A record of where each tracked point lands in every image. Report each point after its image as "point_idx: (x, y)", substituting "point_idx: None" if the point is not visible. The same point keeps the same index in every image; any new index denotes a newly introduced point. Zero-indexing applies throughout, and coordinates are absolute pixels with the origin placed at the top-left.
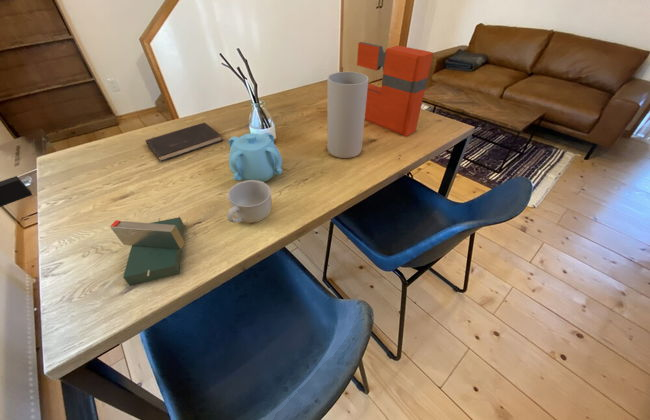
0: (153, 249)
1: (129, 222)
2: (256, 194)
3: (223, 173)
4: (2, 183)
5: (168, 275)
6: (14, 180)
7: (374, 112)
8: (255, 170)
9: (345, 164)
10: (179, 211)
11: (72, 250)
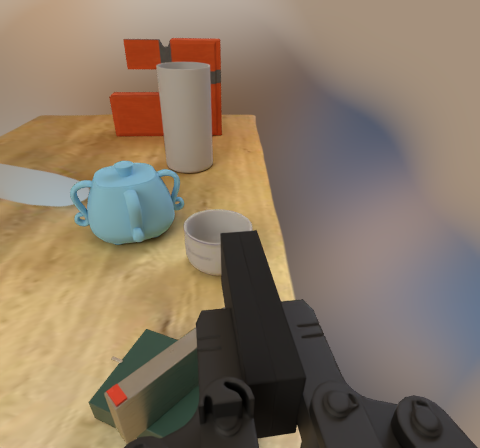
0: (197, 392)
1: (141, 369)
2: (198, 237)
3: (79, 256)
4: (249, 256)
5: None
6: (252, 236)
7: None
8: (163, 210)
9: (215, 174)
10: (102, 339)
11: None
